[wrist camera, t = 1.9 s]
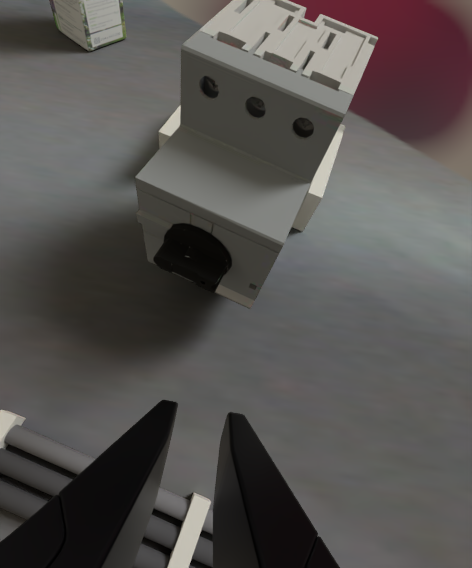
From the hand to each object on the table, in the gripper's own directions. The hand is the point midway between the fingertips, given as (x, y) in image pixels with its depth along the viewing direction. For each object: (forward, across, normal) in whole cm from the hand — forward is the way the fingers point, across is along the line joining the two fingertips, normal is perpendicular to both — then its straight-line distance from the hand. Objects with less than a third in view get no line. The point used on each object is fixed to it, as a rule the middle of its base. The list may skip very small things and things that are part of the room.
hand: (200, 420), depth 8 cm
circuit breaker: (+20, 0, 0) cm, 20 cm away
